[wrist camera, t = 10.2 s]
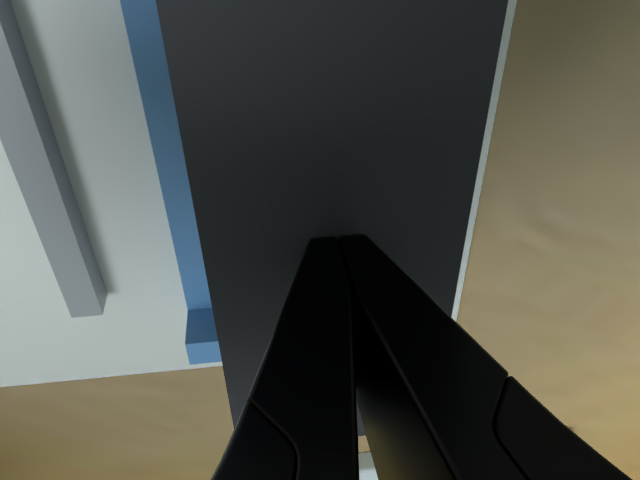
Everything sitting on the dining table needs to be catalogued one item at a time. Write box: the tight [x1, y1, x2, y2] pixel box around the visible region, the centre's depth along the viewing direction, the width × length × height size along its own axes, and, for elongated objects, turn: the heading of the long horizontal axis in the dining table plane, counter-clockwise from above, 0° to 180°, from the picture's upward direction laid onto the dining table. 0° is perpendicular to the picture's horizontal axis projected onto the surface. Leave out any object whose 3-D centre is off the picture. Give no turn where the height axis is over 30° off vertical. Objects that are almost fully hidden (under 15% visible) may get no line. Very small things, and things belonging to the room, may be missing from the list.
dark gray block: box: [156, 0, 508, 436], centre depth 11 cm, size 10×4×6 cm, turn 1°
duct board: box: [0, 0, 517, 387], centre depth 13 cm, size 18×18×3 cm
